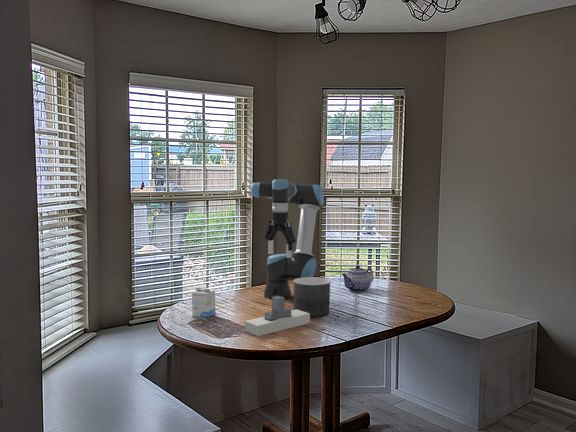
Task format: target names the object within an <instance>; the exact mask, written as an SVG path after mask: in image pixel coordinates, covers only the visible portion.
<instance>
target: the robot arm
mask: <svg viewBox="0 0 576 432" xmlns="http://www.w3.org/2000/svg"><path fill="white" fill-rule="evenodd" d="M250 190H251V196H252V197H254V198H264V199H271V201H272V202H271V203H272V204H271V205H272V206H271V207H272V208H271V209H272V212H271V218H272V219H271V220H269V221H268V227H267V229H266V231H265V232H266V233H265V235H264V239H265V240H267V247H268V249H267V255H269V256H268V257H267V258H266V259H267V260H266V261H267V262H266V278H267V279H266V285H265V288H264V290H263V297H264V298H266V299H271V300H272V297H275V296H281V297H285V299H288V298H289V299H290V298H291V297H292V291H291V287H290V284H289V279H293V280H295V279H298V278H305V277H314V275H315V273H316V269H317V260H316V259H315V258H314V254H313V253H312V250H313V249H312V248H313V242H314V234H315V227H316V218H317V217H316V216H317V212H318V211H319V210H320V208H321V206H324V203H325V195H324V189H323V187H322V186H321V185H320V184H304V183H303V184H302V183H301V184H297V183H296V184H294V183H293V182H289V181H288V179H286V178H284V179H282V178H276V179H273V180H272V182H261V181H259V182H258V181H257V182H253V183H252V185H251V188H250ZM289 204H290V205H291V204H292V205H298V208H299V209H300V217H299V223H298V224H299V225H298V233H297V239H296V238H295V235H294V231H293V228H292V223H291V222H287V220H288V219H289V218H288V217H289V212H288V211H289ZM278 232H281V233H282V234H283V237H284V239H285V241H286V243H285V244H286V245H285V246H286V247H285V249H286V251H285V253H277V254H275V253H274V237H275V236H276V235H277V233H278ZM295 243H296V246H295V247H296V249H295V251H294V252H293V244H295Z"/></svg>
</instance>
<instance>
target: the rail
mask: <svg viewBox="0 0 576 432" xmlns="http://www.w3.org/2000/svg"><path fill="white" fill-rule="evenodd" d="M290 310H291V309H290ZM310 323H311V317H310V313H307V312H304V311H300V310H297V309H296V310H294V309H292V310H291V317H284V318H279V319H275V320H274V321H268V320H265V316H261V317H258V318H256V317H255V318H253V319H248V320H245V321H244V331H245V332H247V333H249V334H251V335H254V336H256V337H259V336H264V335H268V334H271V333H276V332H279V331H284V330H286V329H287V330H288V329H291V328H292V329H293V328H296V327H300V326H304V325H306V324H310Z"/></svg>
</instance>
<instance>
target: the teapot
mask: <svg viewBox="0 0 576 432" xmlns="http://www.w3.org/2000/svg"><path fill="white" fill-rule="evenodd" d="M369 272H370V273H369ZM341 275H342V276H343V282H344V286H345V289H348V290H349V291H350V292H352V293H366V292H367V291H368V290H369V289H370V287H371V284H372V282H373V279H374V271H373V270H372V268H370V267H368V268H363V267H361V266H360V265H359V264H356V265H355V267H352V268H349V271H347V273H345V272H343V273H341Z"/></svg>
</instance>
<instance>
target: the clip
mask: <svg viewBox="0 0 576 432" xmlns="http://www.w3.org/2000/svg"><path fill="white" fill-rule="evenodd" d="M285 299H286V298H285V297H281V296H275V297H272V299H271V311H268V312H264V317H265V320H268V321H274V320H275V319H279V318H284V317H291V309H289V308H285V301H286V300H285Z"/></svg>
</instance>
